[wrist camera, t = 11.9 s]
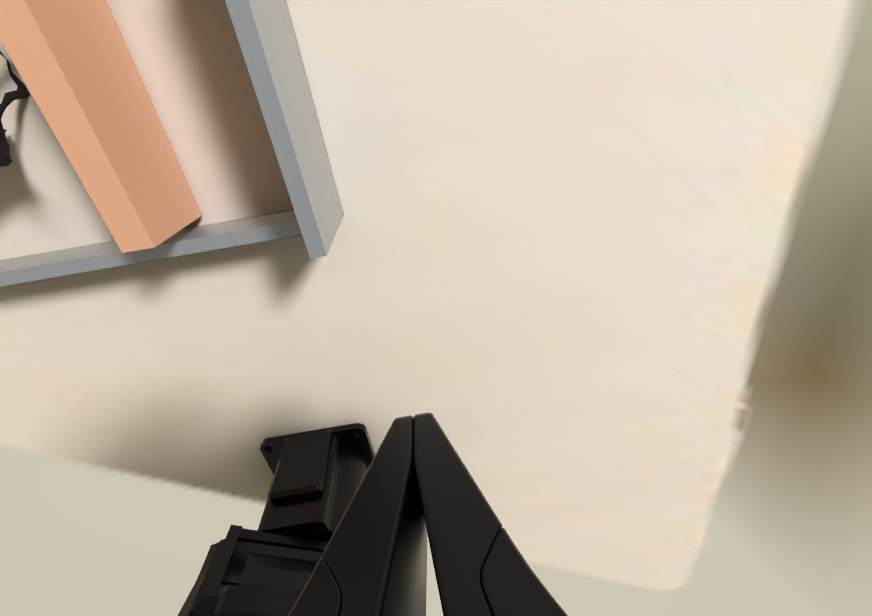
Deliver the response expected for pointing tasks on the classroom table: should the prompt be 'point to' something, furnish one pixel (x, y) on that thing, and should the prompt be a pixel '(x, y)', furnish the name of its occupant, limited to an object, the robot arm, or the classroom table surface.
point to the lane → (293, 144)
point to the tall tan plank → (100, 115)
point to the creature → (0, 144)
